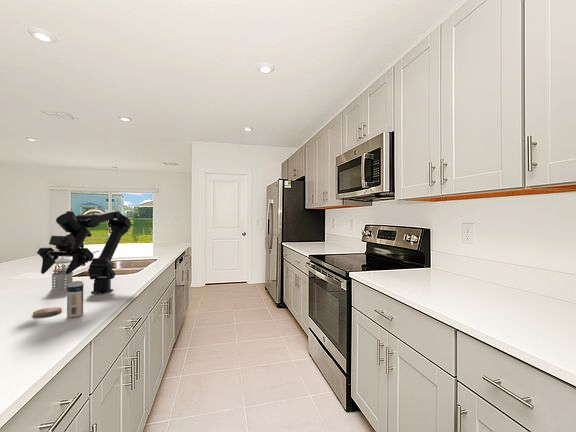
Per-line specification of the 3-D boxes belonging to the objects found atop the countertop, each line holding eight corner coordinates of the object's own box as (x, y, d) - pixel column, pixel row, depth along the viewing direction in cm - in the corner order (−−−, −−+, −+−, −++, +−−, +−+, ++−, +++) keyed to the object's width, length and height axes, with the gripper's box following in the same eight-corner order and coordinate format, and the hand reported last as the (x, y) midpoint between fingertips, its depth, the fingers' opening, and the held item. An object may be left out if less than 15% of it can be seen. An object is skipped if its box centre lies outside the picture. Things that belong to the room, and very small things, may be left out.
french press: (71, 286, 142) (71, 236, 142) (79, 290, 135) (80, 237, 135) (45, 290, 134) (46, 237, 134) (54, 294, 127) (54, 239, 127)
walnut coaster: (49, 309, 108) (49, 306, 108) (67, 310, 106) (67, 308, 106) (26, 316, 100) (26, 313, 100) (45, 318, 98) (45, 315, 98)
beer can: (86, 314, 102) (87, 281, 102) (72, 319, 98) (73, 284, 98) (77, 313, 104) (77, 280, 104) (63, 317, 99) (63, 283, 99)
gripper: (39, 227, 110) (13, 262, 100) (87, 227, 109) (65, 262, 99) (57, 243, 118) (35, 277, 108) (101, 244, 118) (83, 278, 108)
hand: (54, 273), depth 105 cm, fingers open, 9 cm apart
